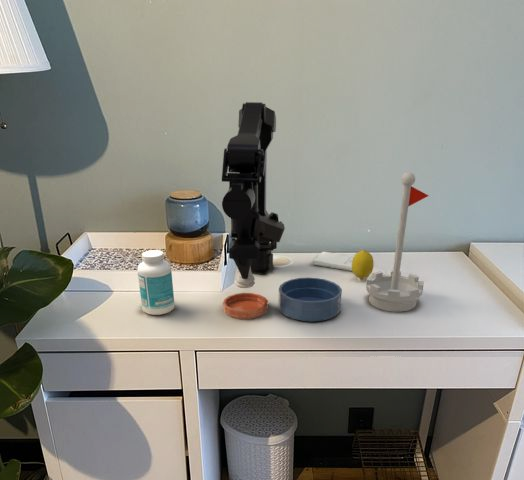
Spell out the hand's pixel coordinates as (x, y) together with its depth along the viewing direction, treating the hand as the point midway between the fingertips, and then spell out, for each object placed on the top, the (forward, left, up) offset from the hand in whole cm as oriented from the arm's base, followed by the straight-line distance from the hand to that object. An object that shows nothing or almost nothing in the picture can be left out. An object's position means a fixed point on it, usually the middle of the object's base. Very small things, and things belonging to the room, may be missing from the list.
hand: (245, 275), depth 124 cm
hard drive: (+9, +38, -9) cm, 40 cm away
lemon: (+18, +30, -9) cm, 36 cm away
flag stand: (+29, +20, -9) cm, 36 cm away
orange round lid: (0, 0, -8) cm, 8 cm away
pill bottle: (-18, -9, -9) cm, 22 cm away
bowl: (+13, +7, -8) cm, 17 cm away
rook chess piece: (0, 0, -2) cm, 2 cm away
